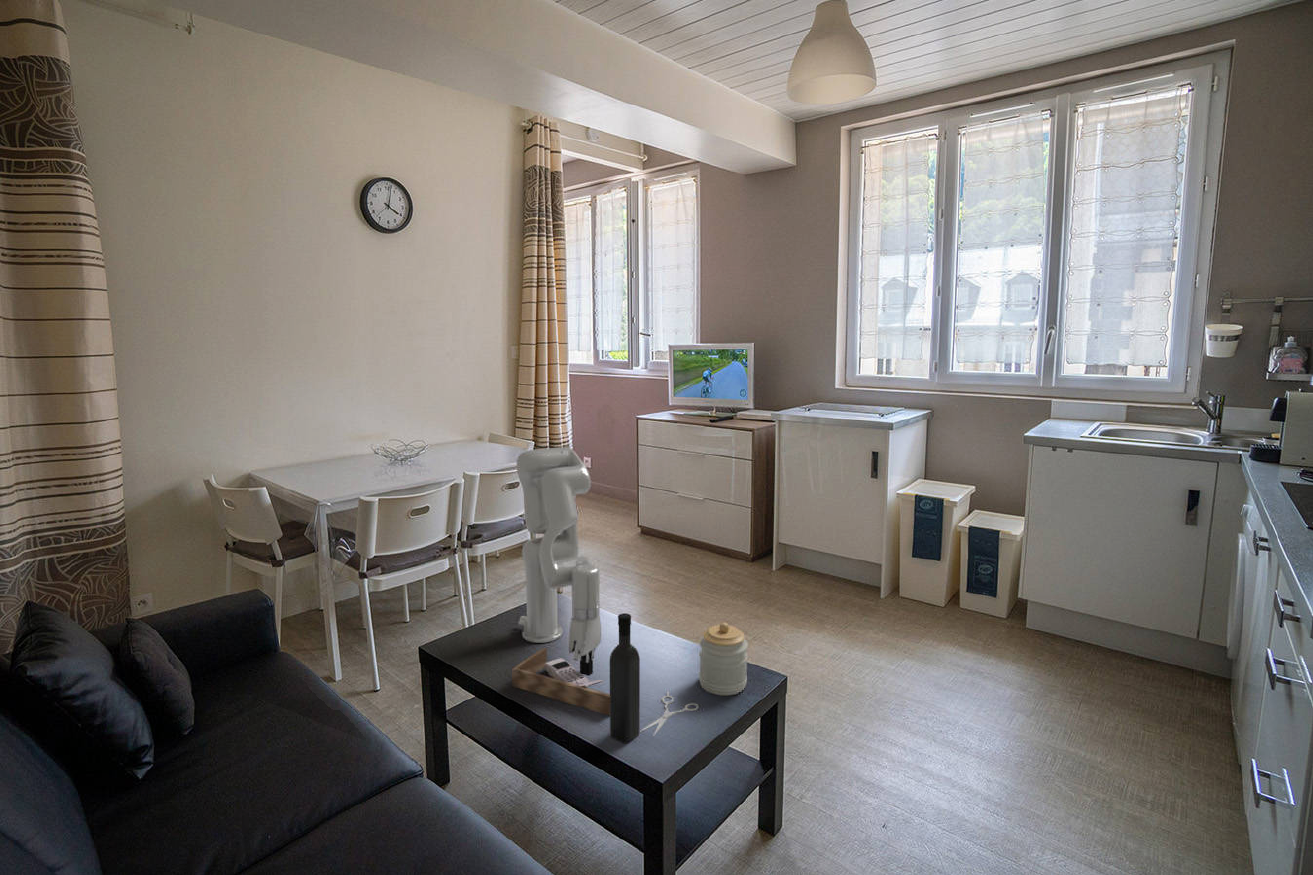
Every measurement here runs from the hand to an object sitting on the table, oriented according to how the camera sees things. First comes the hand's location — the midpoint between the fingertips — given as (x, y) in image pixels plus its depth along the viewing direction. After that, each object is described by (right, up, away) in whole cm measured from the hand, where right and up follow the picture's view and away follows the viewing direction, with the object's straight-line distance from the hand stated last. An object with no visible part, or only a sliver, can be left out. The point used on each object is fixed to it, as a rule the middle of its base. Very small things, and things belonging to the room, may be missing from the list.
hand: (586, 673), depth 186 cm
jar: (+38, -2, -2) cm, 38 cm away
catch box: (-3, -2, -5) cm, 6 cm away
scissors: (+22, -5, -17) cm, 28 cm away
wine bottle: (+12, -6, -26) cm, 29 cm away
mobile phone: (-4, -2, -2) cm, 5 cm away
